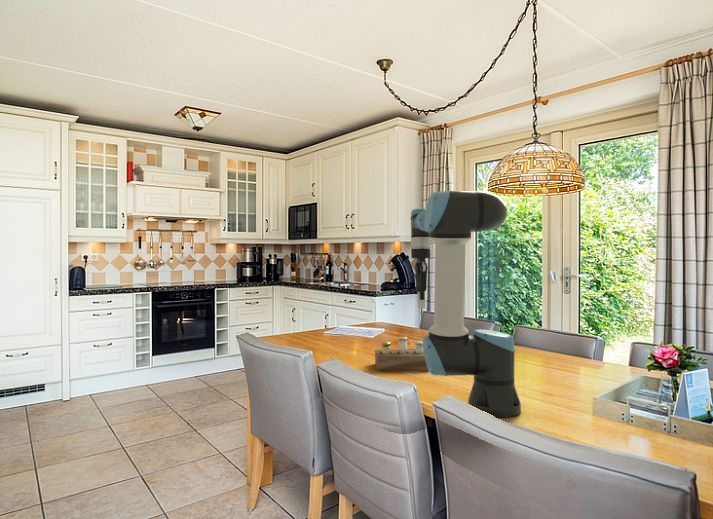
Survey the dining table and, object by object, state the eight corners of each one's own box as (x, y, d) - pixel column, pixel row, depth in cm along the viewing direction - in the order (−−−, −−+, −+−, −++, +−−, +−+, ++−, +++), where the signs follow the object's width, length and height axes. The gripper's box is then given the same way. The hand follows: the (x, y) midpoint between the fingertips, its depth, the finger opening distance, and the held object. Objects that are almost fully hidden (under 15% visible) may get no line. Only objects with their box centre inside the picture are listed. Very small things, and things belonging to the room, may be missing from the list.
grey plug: (425, 364, 185) (425, 342, 185) (415, 364, 185) (415, 343, 185) (424, 361, 190) (423, 340, 189) (413, 362, 189) (413, 341, 189)
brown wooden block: (432, 370, 182) (432, 355, 182) (377, 371, 181) (377, 356, 181) (426, 362, 194) (426, 348, 194) (375, 363, 193) (375, 349, 193)
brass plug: (391, 365, 185) (391, 343, 185) (381, 365, 185) (381, 343, 185) (390, 362, 189) (390, 341, 189) (380, 362, 189) (380, 341, 189)
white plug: (408, 360, 185) (408, 338, 185) (398, 360, 185) (398, 338, 185) (407, 357, 189) (407, 336, 189) (397, 357, 189) (397, 336, 189)
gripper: (434, 247, 173) (434, 309, 173) (426, 248, 186) (427, 306, 186) (414, 247, 173) (415, 309, 173) (408, 249, 186) (409, 306, 186)
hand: (421, 308), depth 179 cm, fingers closed
